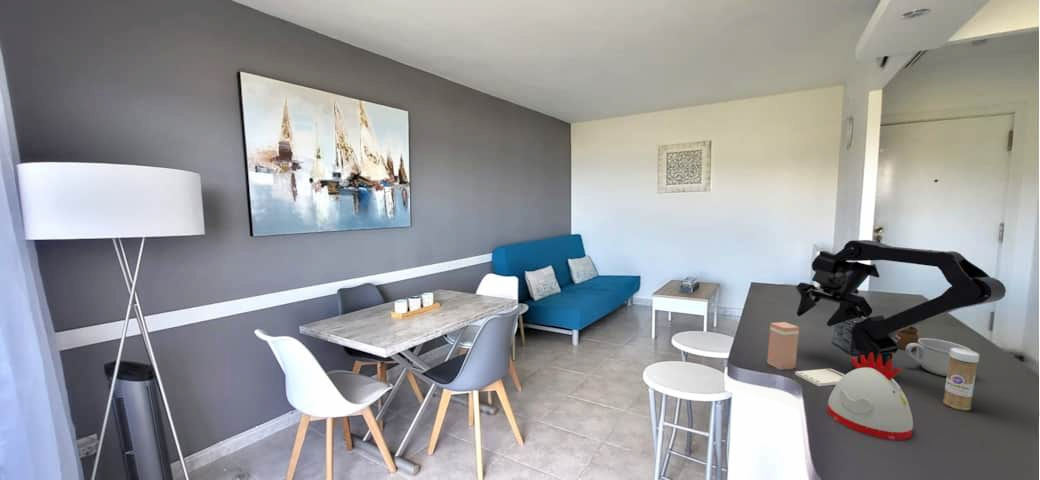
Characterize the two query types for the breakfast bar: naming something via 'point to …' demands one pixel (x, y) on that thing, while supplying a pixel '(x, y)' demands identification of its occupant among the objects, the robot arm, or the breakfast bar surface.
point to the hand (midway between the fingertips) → (812, 320)
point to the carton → (783, 345)
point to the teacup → (933, 354)
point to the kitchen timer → (872, 401)
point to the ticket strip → (821, 376)
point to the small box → (846, 336)
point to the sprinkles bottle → (960, 378)
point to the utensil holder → (906, 338)
